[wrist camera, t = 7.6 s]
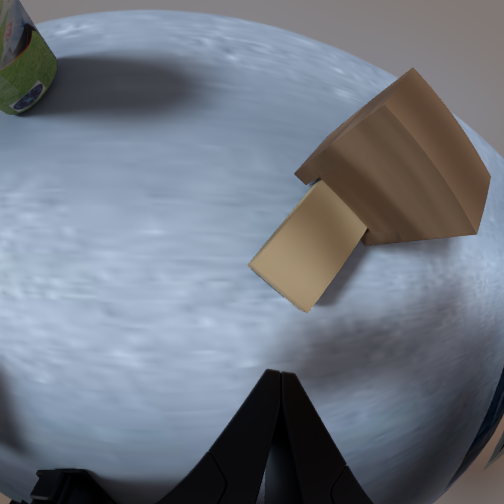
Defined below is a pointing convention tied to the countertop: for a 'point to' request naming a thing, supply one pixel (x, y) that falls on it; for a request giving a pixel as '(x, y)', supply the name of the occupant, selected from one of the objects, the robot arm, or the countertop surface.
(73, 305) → the countertop surface
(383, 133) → the rider
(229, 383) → the countertop surface
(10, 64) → the beverage can
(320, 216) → the beam
